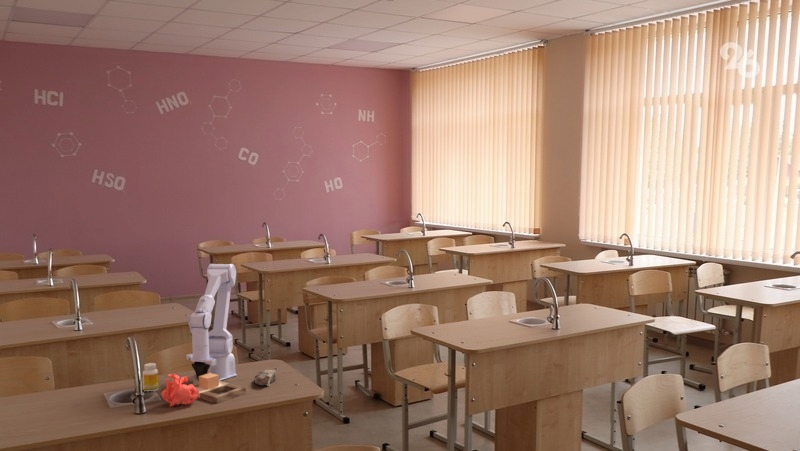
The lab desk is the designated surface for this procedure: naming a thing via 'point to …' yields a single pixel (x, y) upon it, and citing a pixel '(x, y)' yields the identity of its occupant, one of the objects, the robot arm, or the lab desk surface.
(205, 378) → the terracotta block
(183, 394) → the anatomical heart
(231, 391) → the tunnel deck
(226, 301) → the robot arm
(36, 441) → the lab desk surface
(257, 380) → the mineral rock
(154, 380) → the supplement bottle
